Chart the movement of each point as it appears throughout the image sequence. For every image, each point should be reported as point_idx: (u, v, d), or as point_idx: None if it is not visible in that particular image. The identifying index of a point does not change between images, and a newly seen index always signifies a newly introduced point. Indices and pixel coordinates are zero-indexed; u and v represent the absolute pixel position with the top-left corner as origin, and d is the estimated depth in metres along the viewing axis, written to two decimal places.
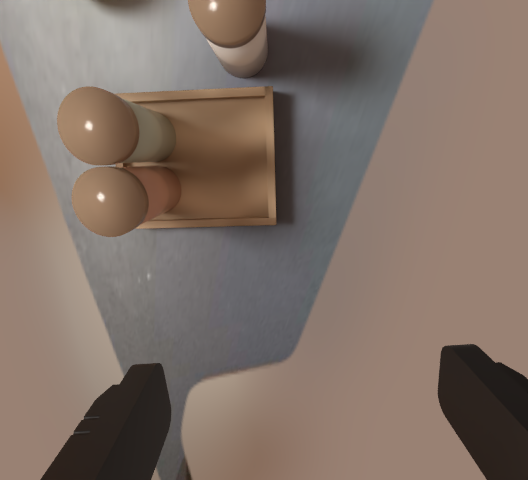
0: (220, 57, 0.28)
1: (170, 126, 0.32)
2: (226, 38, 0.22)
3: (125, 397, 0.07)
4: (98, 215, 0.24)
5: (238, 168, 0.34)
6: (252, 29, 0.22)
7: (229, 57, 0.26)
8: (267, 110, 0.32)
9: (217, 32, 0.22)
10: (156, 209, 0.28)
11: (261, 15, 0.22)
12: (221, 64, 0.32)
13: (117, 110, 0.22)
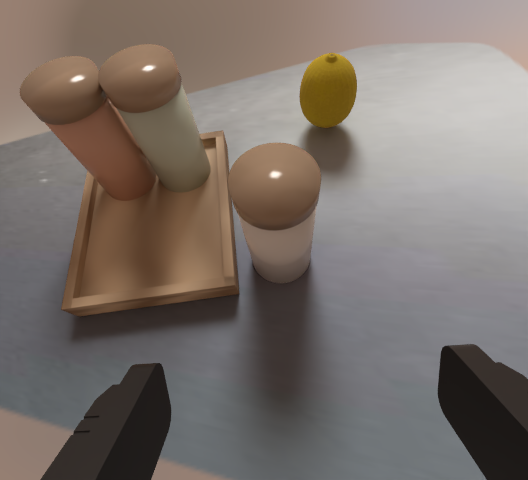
0: None
1: (190, 182, 0.29)
2: (231, 181, 0.18)
3: (125, 397, 0.07)
4: (47, 75, 0.22)
5: (144, 258, 0.27)
6: (242, 207, 0.17)
7: None
8: (206, 282, 0.25)
9: (237, 172, 0.19)
10: (71, 147, 0.24)
11: (258, 215, 0.17)
12: None
13: (149, 83, 0.21)
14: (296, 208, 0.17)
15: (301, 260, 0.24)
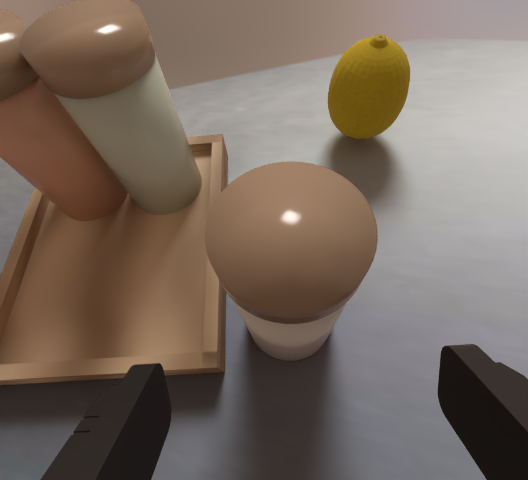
0: None
1: (171, 203, 0.21)
2: (211, 228, 0.10)
3: (125, 397, 0.07)
4: None
5: (94, 307, 0.19)
6: (225, 283, 0.09)
7: None
8: (175, 358, 0.17)
9: (223, 211, 0.10)
10: None
11: (255, 304, 0.09)
12: None
13: (95, 51, 0.13)
14: (329, 294, 0.09)
15: (320, 341, 0.15)
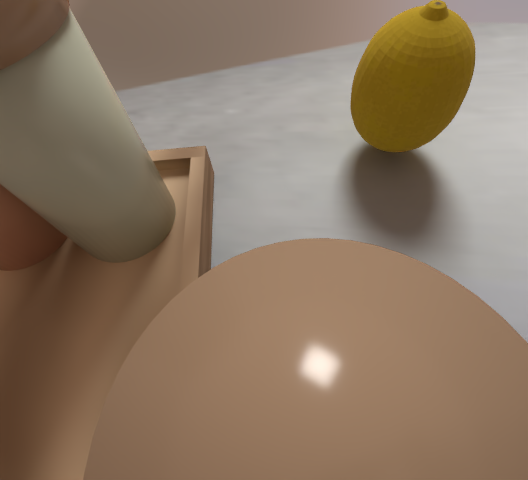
0: None
1: (127, 248, 0.15)
2: (104, 456, 0.03)
3: None
4: None
5: (3, 416, 0.13)
6: None
7: None
8: None
9: (146, 391, 0.04)
10: None
11: None
12: None
13: None
14: None
15: None
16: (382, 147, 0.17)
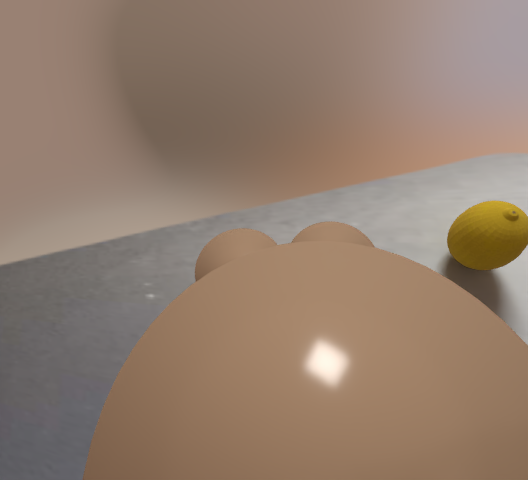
0: None
1: None
2: (104, 461, 0.03)
3: None
4: (223, 256, 0.19)
5: None
6: None
7: None
8: None
9: (145, 396, 0.04)
10: None
11: None
12: None
13: None
14: None
15: None
16: None
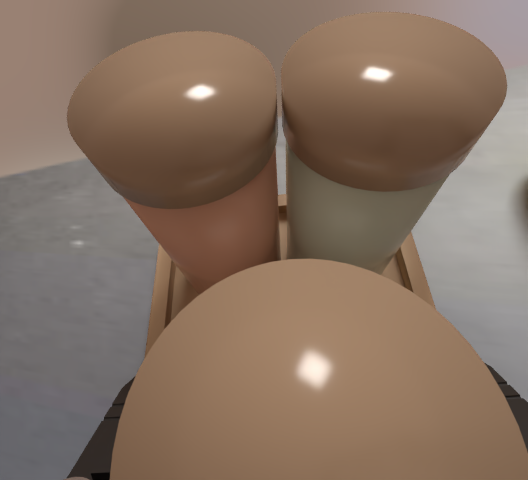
0: None
1: None
2: (128, 436, 0.04)
3: None
4: (139, 74, 0.09)
5: None
6: None
7: None
8: None
9: (160, 386, 0.05)
10: (168, 243, 0.11)
11: None
12: None
13: (457, 117, 0.07)
14: None
15: None
16: None
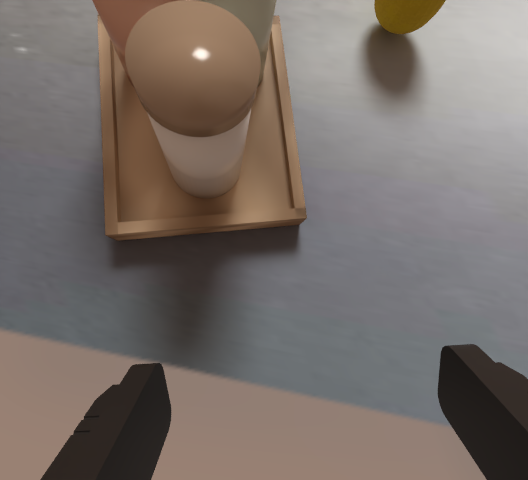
0: None
1: None
2: (130, 53, 0.12)
3: (125, 397, 0.07)
4: None
5: None
6: (145, 97, 0.12)
7: None
8: (276, 212, 0.23)
9: (139, 39, 0.13)
10: (114, 16, 0.17)
11: (169, 113, 0.12)
12: None
13: None
14: (223, 108, 0.13)
15: (228, 175, 0.20)
16: (391, 29, 0.27)
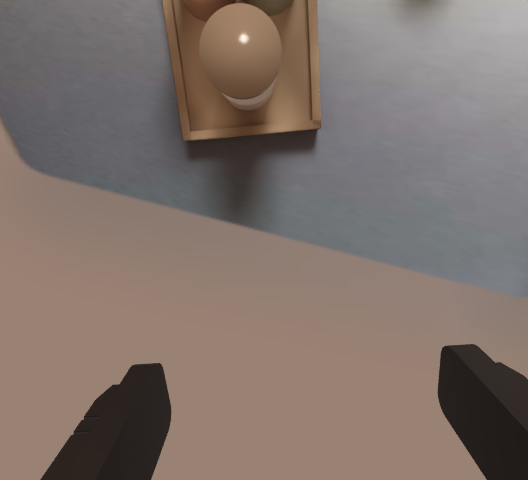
0: None
1: (280, 8, 0.28)
2: (202, 51, 0.20)
3: (125, 397, 0.07)
4: None
5: None
6: (212, 82, 0.21)
7: None
8: (298, 124, 0.31)
9: (207, 40, 0.20)
10: None
11: (226, 92, 0.21)
12: None
13: None
14: (257, 89, 0.21)
15: (263, 101, 0.28)
16: None
